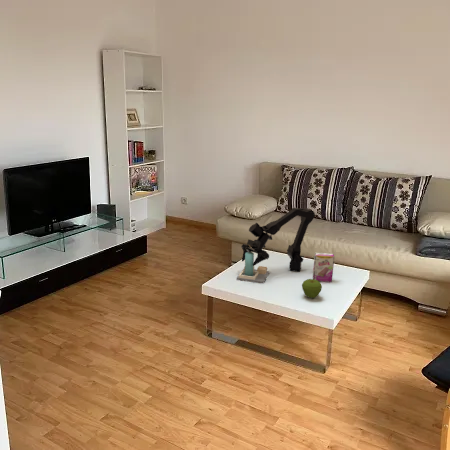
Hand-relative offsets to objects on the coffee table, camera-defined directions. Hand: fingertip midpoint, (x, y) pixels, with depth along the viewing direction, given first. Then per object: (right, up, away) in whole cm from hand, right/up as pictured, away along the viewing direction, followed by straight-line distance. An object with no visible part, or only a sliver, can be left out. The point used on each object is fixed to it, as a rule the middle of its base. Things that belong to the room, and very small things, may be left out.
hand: (247, 263), depth 285 cm
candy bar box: (+44, -10, +2) cm, 45 cm away
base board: (+4, -8, +6) cm, 11 cm away
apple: (+33, -17, -21) cm, 43 cm away
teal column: (+1, -8, +3) cm, 8 cm away
